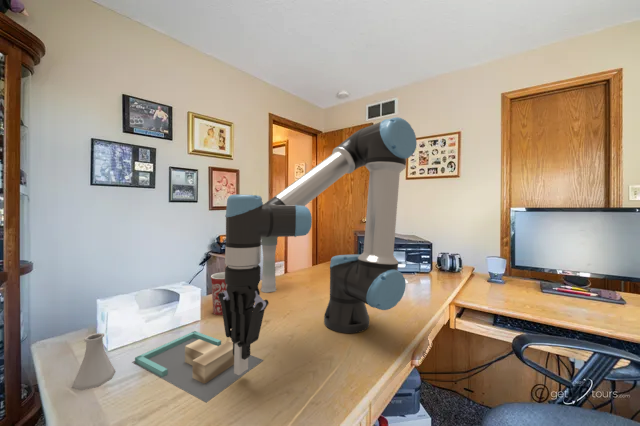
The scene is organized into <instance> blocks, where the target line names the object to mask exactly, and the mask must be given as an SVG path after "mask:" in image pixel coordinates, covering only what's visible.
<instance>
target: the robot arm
mask: <svg viewBox="0 0 640 426" xmlns="http://www.w3.org/2000/svg"><path fill="white" fill-rule="evenodd" d="M416 149H417V136H416V132H415V130H414V128H413V127H412V125H411V124H410V123H409V122H408V121H407V120H406V119H405V118H403V117H391V118H386V119H383V120H381V121H380V122H377V123H375V124H372V125H369V126H366V127H361V128H360V129H359V130H357V131H355V132H354V133H352V134H351V135H350V136H348V137H347V138H346V139H345V140H343V141H342V142H341V143H340V144H338V145H337V146H336V147H334V148H333V150H332V151H331V152H332V154H330V155H329V156H328V157H326V158H325V159H323V160H322V161H321V162H319V163H318V164H317V165H315V166H314V167H313V168H311V169H310V170H308V172H306V173H305V174H302V176H300V177H299V178H298V179H296V180H295V181H294V182H292V183H291V184H289V185H288V186H286V187H285V188H284V189H282V190H281V191H280V192H279V193H277V194H276V195H275V196H273V197H272V198H271V199H268V200H267V201H266V202H265V203H263V202H264V201H263V197H262V196H261V195H257V194H254V195H253V194H231V195H229V196H228V198H227V200H226V209H225V210H226V211H225V249H224V250H225V252H224V264H225V265H226V266H225V268H224V272H225V283H226V284H227V288H226V291H224V292H222V293H219V294H218V297H219V300H220V302H221V306H222V313H223V315H222V319H223V326H224V334H225V337H226V338H230V339H231V342H232V343H233V355H234V373H235V374H237V375H240V374H242V373H243V372H245V371H246V370H247V369H248V357H250V355H251V344H254V343H255V342H257V341H258V340H259V338H260V333H261V328H262V323H263V319H264V314H265V310H266V309H267V307H268V305H269V300H268V299H263V298H262V297H261V296H260V292H261V291H260V290H259V285H260V282H261V269H262V268H261V266H260V265H259V264H260V263H261V261H262V260H261V258H262V257H261V256H262V255H261V254H262V251H261V250H262V245H261V238H262V237H278V238H280V237H281V238H284V237H285V238H286V237H294V238H297V237H303V236H306V235H308V234H309V233H310V231H311V228H312V225H313V224H312V223H313V222H312V221H313V217H312V213H311V211H310V209H309V208H308V207H307V205H308V204H309V203H311V201H313V200H314V199H316V198H317V197H318V196H319V195H320V194H321V193H323V192H325V190H327V189H328V188H329V187H331V186H332V185H333V184H334V183H336V182H338V180H339V179H341V178H342V177H344V176H345V175H346V174H353V172H355V171H356V170H357V169H359V168H361V167H365V168H366V169H367V170H368V172H369V179H368V188H367V189H368V192H367V202H366V203H367V204H366V205H367V206H366V217H365V227H364V228H365V229H364V242H363V252H362V253H361V254H359V253H358V254H339V255H335V256H332V257H331V259H330V264H329V271H330V272H329V300H328V304H327V306H326V310H325V312H324V316H323V323H324V325H325V326H326V327H327V328H328V329H329V330H332V331H335V332H337V333H344V334H355V333H356V334H358V333H361V332H363V331H366V330H367V329H368V328H369V327H370V315H369V312H368V309H367V306H366V305H368V306H369V307H370V308H375V309H378V310H380V311H388V310H391V309H392V308H394V307H396V305H398V304H399V302H400V301H401V300H402V298H403V297H404V294H405V291H406V278H405V277H404V275H403V273H402V272H401V271H400V270H399V269H398V268H399V260H397V258H396V257H395V255H394V250H395V240H396V239H395V238H396V225H397V224H396V223H397V213H398V212H397V211H398V199H399V189H400V188H399V187H400V175H401V173H402V172H403V171H404V170H405V169H406V166H407V159H409V158H411V157H412V156H413V154H414V153H415V152H416Z"/></svg>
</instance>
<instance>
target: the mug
mask: <svg viewBox="0 0 640 426" xmlns="http://www.w3.org/2000/svg"><path fill="white" fill-rule="evenodd" d="M210 279H211V280H210V281H211V294H212V313H213V314H214V315H215V316H223V313H222V306H221V302H220V300H219V297H218V294H219V293H222V292H224V291H226V288H227V284H226V283H225V271H224V272H217V273H216V272H215V273H213V274H211V276H210Z"/></svg>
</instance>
